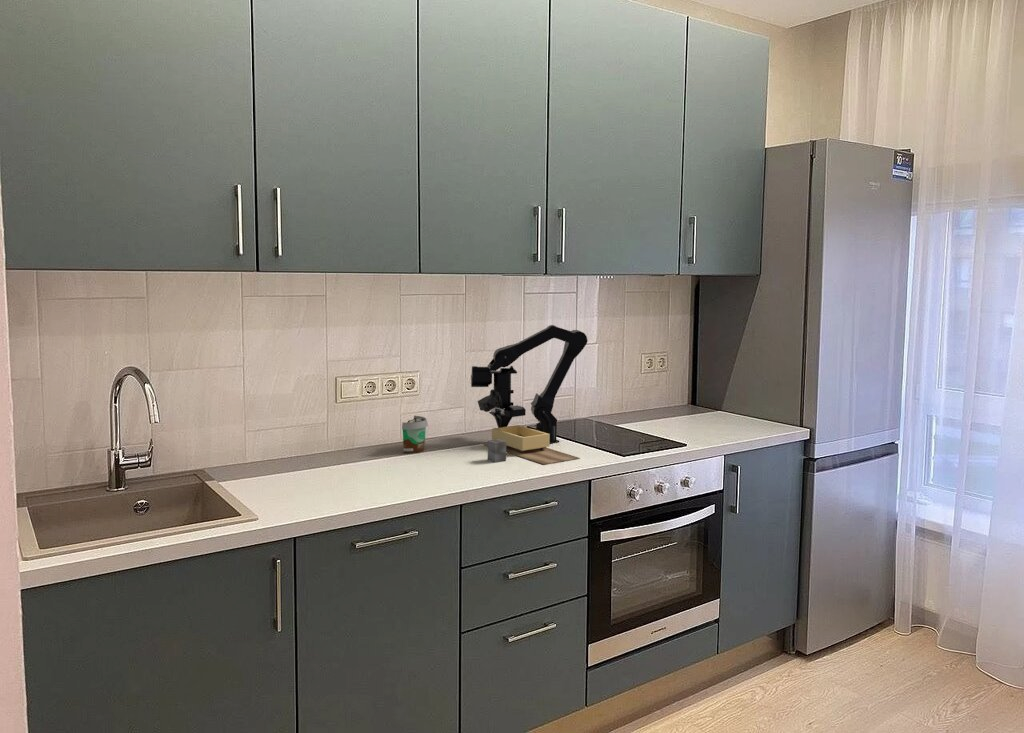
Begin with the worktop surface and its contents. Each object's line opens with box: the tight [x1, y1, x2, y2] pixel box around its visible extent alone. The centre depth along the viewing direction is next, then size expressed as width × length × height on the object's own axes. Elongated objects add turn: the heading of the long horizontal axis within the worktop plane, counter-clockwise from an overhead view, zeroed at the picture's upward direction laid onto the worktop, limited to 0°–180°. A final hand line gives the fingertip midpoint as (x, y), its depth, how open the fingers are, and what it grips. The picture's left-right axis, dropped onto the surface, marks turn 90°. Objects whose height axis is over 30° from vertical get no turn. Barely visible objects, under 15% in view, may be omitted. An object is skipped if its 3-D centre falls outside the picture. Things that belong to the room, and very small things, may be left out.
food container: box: [401, 415, 429, 455], centre depth 263 cm, size 12×6×10 cm, turn 168°
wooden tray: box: [491, 424, 551, 453], centre depth 268 cm, size 11×17×5 cm, turn 36°
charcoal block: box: [487, 439, 507, 464], centre depth 252 cm, size 4×4×6 cm
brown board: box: [482, 442, 581, 466], centre depth 264 cm, size 14×32×1 cm, turn 36°
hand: (501, 433), depth 276 cm, fingers closed
